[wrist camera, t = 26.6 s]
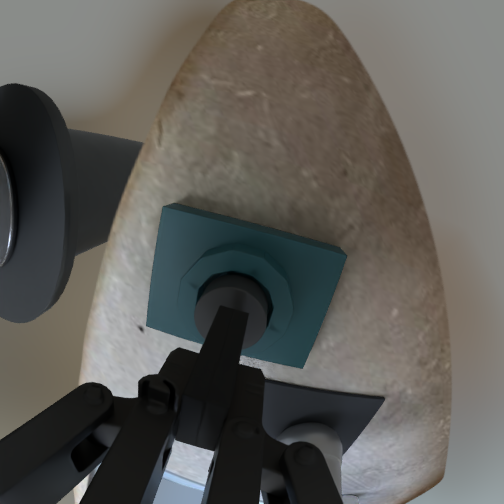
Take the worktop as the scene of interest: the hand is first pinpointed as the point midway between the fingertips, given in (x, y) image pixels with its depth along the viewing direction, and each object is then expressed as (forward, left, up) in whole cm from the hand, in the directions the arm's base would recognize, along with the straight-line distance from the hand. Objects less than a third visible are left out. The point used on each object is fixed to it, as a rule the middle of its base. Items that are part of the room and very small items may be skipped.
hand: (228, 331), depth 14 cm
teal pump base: (0, 0, -7) cm, 7 cm away
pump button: (0, 0, -3) cm, 3 cm away
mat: (+10, -14, -7) cm, 18 cm away
